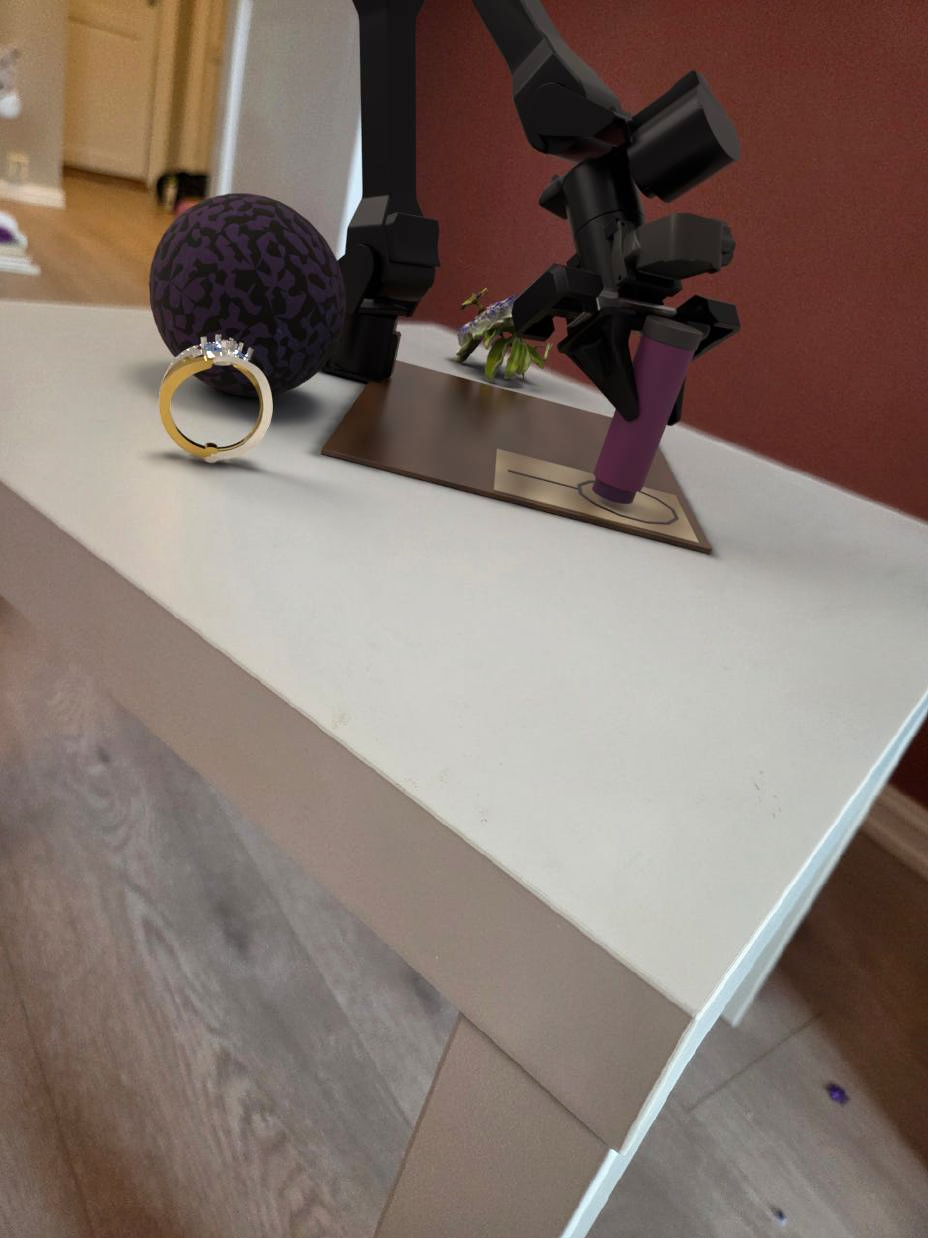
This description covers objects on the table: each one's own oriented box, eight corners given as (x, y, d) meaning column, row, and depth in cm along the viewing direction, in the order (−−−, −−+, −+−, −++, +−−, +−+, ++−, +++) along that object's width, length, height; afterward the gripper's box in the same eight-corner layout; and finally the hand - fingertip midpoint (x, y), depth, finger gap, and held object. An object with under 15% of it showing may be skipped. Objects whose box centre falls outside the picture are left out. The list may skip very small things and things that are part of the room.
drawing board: (320, 453, 65) (321, 446, 64) (385, 360, 97) (386, 355, 96) (710, 554, 66) (713, 547, 66) (647, 430, 99) (648, 425, 98)
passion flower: (451, 406, 108) (452, 313, 109) (539, 410, 109) (539, 317, 110) (458, 370, 97) (460, 267, 98) (556, 375, 98) (556, 272, 99)
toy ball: (182, 351, 79) (200, 169, 73) (344, 395, 80) (377, 219, 73) (108, 386, 66) (122, 167, 59) (303, 439, 66) (339, 228, 60)
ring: (261, 459, 60) (278, 342, 57) (266, 476, 58) (284, 354, 54) (153, 444, 58) (164, 320, 54) (153, 461, 55) (165, 333, 52)
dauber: (588, 496, 68) (651, 320, 61) (585, 479, 71) (643, 311, 65) (641, 511, 68) (708, 337, 62) (634, 492, 72) (697, 327, 65)
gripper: (585, 131, 57) (637, 353, 54) (771, 194, 67) (823, 383, 64) (489, 235, 66) (530, 430, 63) (666, 276, 76) (707, 445, 73)
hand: (653, 421), depth 66 cm, fingers closed on dauber, 4 cm apart
